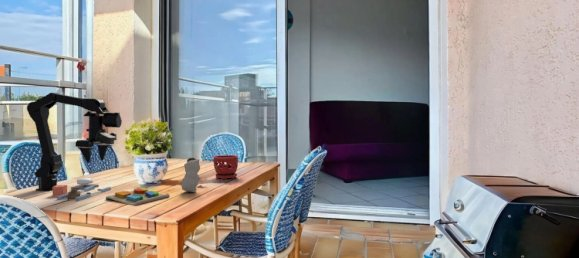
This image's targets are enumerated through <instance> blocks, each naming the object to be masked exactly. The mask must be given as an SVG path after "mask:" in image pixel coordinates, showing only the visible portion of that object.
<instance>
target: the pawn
mask: <svg viewBox="0 0 579 258" xmlns="http://www.w3.org/2000/svg"><path fill="white" fill-rule="evenodd" d="M67 194H68V198H67V200H69V199H74V200H75V198H76V197H79V196H81V193H80V191H78V190H76V189H70V191H67Z"/></svg>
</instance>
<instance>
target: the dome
mask: <svg viewBox="0 0 579 258" xmlns="http://www.w3.org/2000/svg"><path fill="white" fill-rule="evenodd" d="M93 183H94V179H93V177H84V178H83V177H82V178H77V179H76V184H77V185H81V184H83V185H86V184H93Z"/></svg>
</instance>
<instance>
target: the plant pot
mask: <svg viewBox="0 0 579 258" xmlns="http://www.w3.org/2000/svg"><path fill="white" fill-rule="evenodd" d="M213 167H214V170H215V171H214V172H215V174H214V175H215V177H216V178H217V179H218V178H221V180H228V179H227V178H233V179H235V178H236V177H237V176H238V173H236V172H237V170H238V167H239V156H238V155H235V154H234V155H233V154H226V155H225V154H224V155H221V154H220V155H215V156H213ZM234 177H235V178H234Z"/></svg>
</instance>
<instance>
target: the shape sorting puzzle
mask: <svg viewBox="0 0 579 258" xmlns="http://www.w3.org/2000/svg"><path fill="white" fill-rule="evenodd" d="M165 198H170V194H169V193H165V194H163V193H160V192H159V191H157V190H156V191H155V190H148V188H146V187H136V188H134V189H133V190H131V191H129V190H121V191H115V192H114V194H112V195H107V196H106V197H105V199H106V200H112V201H116V202H118V203H121V204H126V205H129V206H138V205H142V204H147V203H150V202H155V201H158V200H162V199H165Z"/></svg>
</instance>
